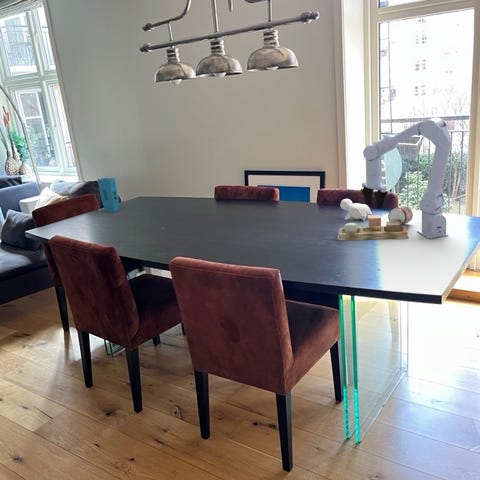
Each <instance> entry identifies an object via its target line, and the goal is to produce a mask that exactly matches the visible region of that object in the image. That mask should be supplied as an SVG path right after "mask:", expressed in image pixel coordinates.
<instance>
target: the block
mask: <svg viewBox="0 0 480 480" xmlns="http://www.w3.org/2000/svg"><path fill="white" fill-rule="evenodd" d="M97 184H98V189H99V193H100V194H99V196H100V200H101V204H102V206H103V209H104V211H105V212H108V213H115V212H118V211H120V204H119V203H120V201H119V196H118V194H119V193H118V190H117V185H116V184H117V183H116V179H115V178H114V177H111V178H109V177H103V178H98V179H97Z"/></svg>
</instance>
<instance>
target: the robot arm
mask: <svg viewBox="0 0 480 480" xmlns="http://www.w3.org/2000/svg"><path fill="white" fill-rule="evenodd" d="M448 125H449V124H448V122H446V121H445V120H444V119H443V118H442V117H439V116H436V117H432V118H430V119H425V120H423V121H420V122H417V123H415V124H413V125H411V126H409V127H407V128H406V129H404V130H402V131H400V132H398V133H396V135H392V134H389V135H388V134H385V135H383V138H381V139H379V140H377V141H376V140H375V141H373V142H372V143H373V144H370V145H366V146H365V147H364V149H363V150H362V154H363V157H364V159H365V173H366V174H365V176H366V178H365V179H366V181H364V182H361V189H360V192H361V193H362V196H363V197H364V200H365V205H367V206H370V205H372V203H373V196H374V198H375V203H376V208H377V209H382V208H383V206H384V201H385V199H386V197H387V195H388V193H389V192H388V190H387V186H385V185H384V183H382V181H381V180H382V178H381V177H382V173H381V170H382V169H381V157H382V156H383V155H385V154H387V153H389V152H390V151H393V150H395V149H396V148H397V147H398V144H399V143H401V142H403V141H404V140H405V141H406V140H407V139H409V138H412V137H413V136H422V137H424V138H426V139H427V140H429V141H430V142H431V143H432V144H433V145H434V147H435V148H434V153H433V159H432V162H431V167H430V168H431V169H430V173H429V176H428V177H429V178H428V183H427V187H426V189H425V190H424V193H423V197H422V199H420V201H419V204H418V205H419V209H420V210H421V229H420V230H417V233H419V234H420V235H422V236H424V237H425V238H427V239H434V238H441V237H447V236H449V234H448V233H447V219H446V217H445V215H443V210H442V206H443V205H444V203H445V198H444V189H443V187H444V185H443V184H444V180H445V176H446V172H447V168H448V162H449V158H450V157H449V156H450V152H451V148H452V145H453V144H452V143H453V140H452V138H451V134H450V131H449V129H448V127H449V126H448ZM374 190H375V191H374Z"/></svg>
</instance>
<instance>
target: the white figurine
mask: <svg viewBox="0 0 480 480" xmlns="http://www.w3.org/2000/svg"><path fill="white" fill-rule="evenodd" d="M340 208H341V210H344V211H348V213H347V215H345V217H344V220H345V221H347V220H349V219H350V218H353V219H357V220H362V222H365V221H366V219H367V218H368V215H373V212H372V211H371V208H370V207H369V205H366V203H365V204H364V203H363V204H362V203H357V202H355V203H354V202H353V200H351V199H349V198H344V199H342V200H341V202H340Z"/></svg>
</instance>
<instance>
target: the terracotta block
mask: <svg viewBox="0 0 480 480" xmlns="http://www.w3.org/2000/svg"><path fill="white" fill-rule="evenodd" d="M367 218H368V219H367V220H368V227H377V226H382V216H381V214H372V215H368V217H367Z"/></svg>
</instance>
